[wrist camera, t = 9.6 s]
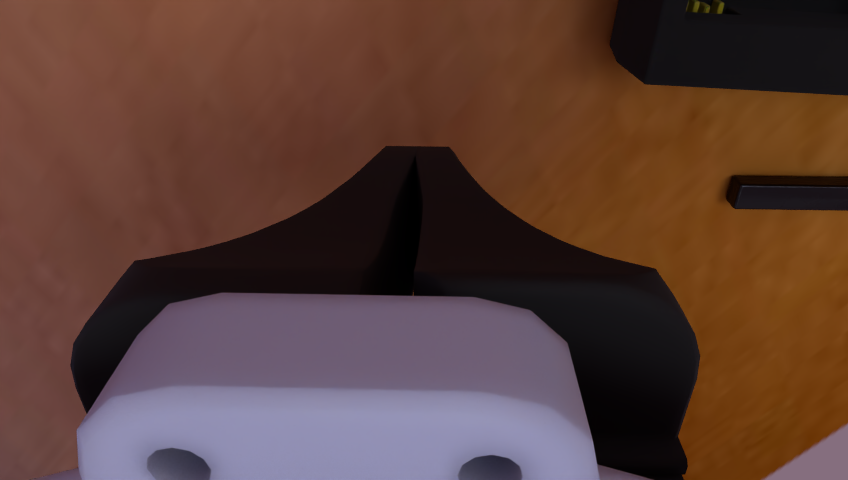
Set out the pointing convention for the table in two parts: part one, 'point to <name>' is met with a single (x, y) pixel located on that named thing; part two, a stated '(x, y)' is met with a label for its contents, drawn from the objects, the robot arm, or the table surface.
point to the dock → (788, 193)
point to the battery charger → (735, 44)
